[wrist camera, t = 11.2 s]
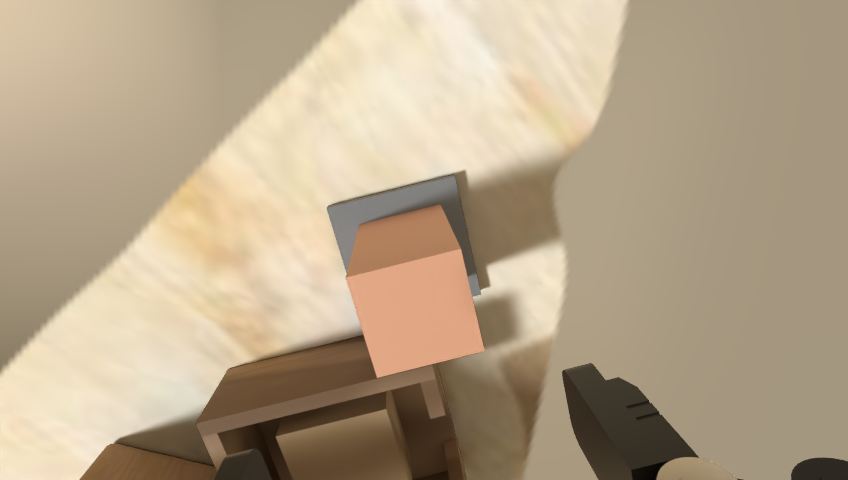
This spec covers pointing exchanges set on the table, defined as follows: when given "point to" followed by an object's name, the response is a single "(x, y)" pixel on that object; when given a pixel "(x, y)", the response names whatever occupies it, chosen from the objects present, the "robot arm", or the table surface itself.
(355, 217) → the pad
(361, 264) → the block
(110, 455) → the wooden block
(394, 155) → the table surface
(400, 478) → the crate
